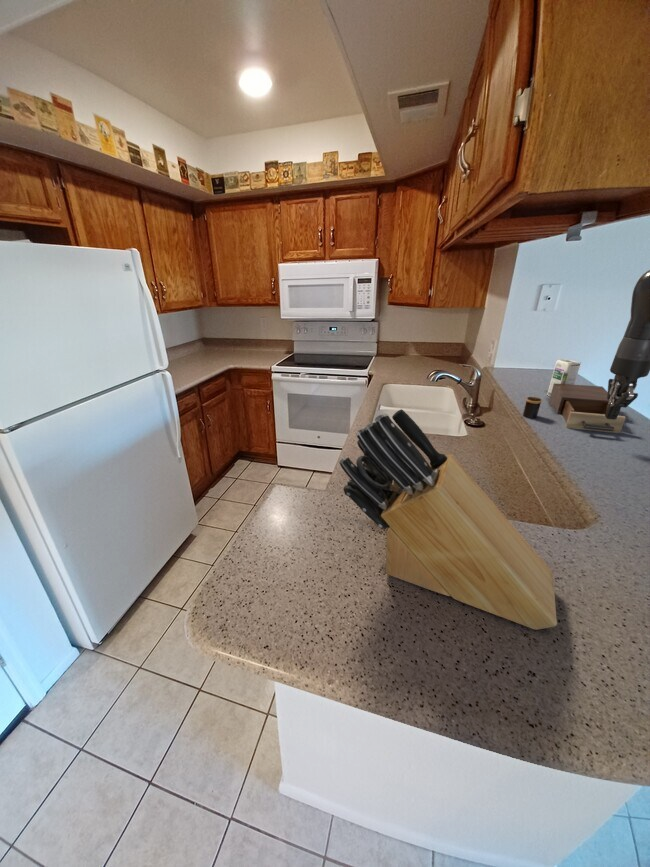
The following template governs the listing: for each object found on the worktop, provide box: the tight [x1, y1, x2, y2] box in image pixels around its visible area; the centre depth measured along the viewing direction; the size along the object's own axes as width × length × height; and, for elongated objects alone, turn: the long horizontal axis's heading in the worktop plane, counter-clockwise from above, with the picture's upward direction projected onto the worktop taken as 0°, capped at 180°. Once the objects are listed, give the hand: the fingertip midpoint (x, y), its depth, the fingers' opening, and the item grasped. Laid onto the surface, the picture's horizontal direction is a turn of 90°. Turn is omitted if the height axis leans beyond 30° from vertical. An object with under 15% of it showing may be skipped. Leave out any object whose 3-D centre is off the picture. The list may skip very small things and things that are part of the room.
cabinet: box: [548, 383, 609, 415], centre depth 115 cm, size 15×15×8 cm
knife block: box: [338, 408, 558, 631], centre depth 54 cm, size 11×35×31 cm, turn 61°
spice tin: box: [522, 396, 543, 420], centre depth 111 cm, size 4×4×8 cm
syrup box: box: [546, 358, 582, 397], centre depth 127 cm, size 6×6×14 cm
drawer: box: [560, 400, 627, 434], centre depth 104 cm, size 18×14×6 cm
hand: (610, 418), depth 90 cm, fingers closed
